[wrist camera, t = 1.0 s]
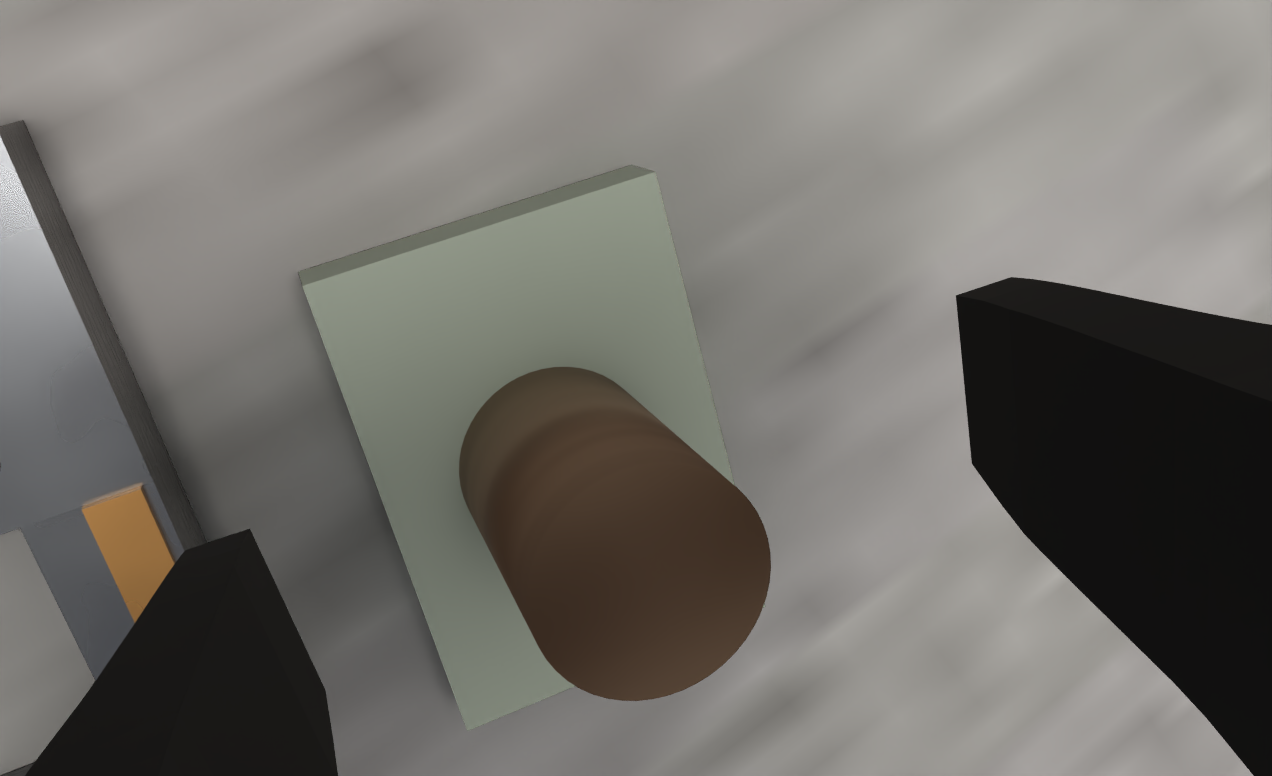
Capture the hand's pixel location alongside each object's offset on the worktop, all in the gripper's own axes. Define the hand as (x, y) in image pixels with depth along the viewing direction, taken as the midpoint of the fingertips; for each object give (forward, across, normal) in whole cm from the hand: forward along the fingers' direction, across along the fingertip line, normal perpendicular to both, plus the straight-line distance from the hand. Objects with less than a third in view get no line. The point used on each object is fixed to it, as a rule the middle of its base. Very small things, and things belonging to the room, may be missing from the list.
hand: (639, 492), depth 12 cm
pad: (+12, 0, +6) cm, 14 cm away
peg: (+11, 0, +6) cm, 12 cm away
